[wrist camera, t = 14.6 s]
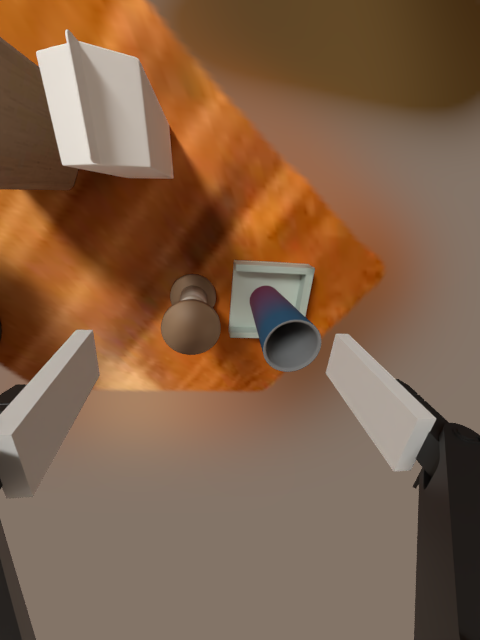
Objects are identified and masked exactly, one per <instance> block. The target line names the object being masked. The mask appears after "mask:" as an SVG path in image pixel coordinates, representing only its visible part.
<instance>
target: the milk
mask: <svg viewBox="0 0 480 640" xmlns="http://www.w3.org/2000/svg"><path fill="white" fill-rule="evenodd" d="M65 35H66V41H67V43H66V44H62V45H58V46H54V47H50V48H46V49H43V50H39V51H37V52H36V55H37V59H38V64H39V68H40V72H41V76H42V81H43V85H44V89H45V94H46V98H47V102H48V107H49V111H50V115H51V120H52V124H53V128H54V132H55V137H56V141H57V145H58V150H59V154H60V158H61V162H62V165H63V166H68V167H73V168H78V169H83V170H88V171H94V172H99V173H104V174H109V175H114V176H120V177H125V178H156V179H173V178H174V176H173V164H172V152H171V140H170V128H169V124H168V121H167V119H166V117H165V115H164V113H163V111H162V108H161V106H160V104H159V102H158V100H157V98H156V95H155V93H154V91H153V89H152V87H151V84H150V82H149V80H148V78H147V76H146V74H145V71H144V69H143V67H142V65H141V63H140V61H139V59H138V58H136V57H133V56H129V55H126V54H122V53H119V52H115V51H112V50H108V49H105V48H101V47H98V46H94V45H91V44H87V43H84V42H80V41H78V40H77V39H76V38H75V37H74V36H73V34H72V33H71V32H70V31H69V30H66V31H65Z"/></svg>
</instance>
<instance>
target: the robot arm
mask: <svg viewBox="0 0 480 640" xmlns="http://www.w3.org/2000/svg"><path fill="white" fill-rule="evenodd" d="M1 332H2V330H1V323H0V339H1ZM326 374H327V376H328V377H329V379H330V380H331V382H332V383H333V385H334V386H335V387H336V389H337V390H338V392H339V393H340V395H341V396H342V398H343V399H344V400H345V402H346V403H347V405H348V406H349V407H350V409H351V411H352V412H353V413H354V415H355V416H356V417H357V419H358V421H359V422H360V424H361V425H362V426H363V428H364V429H365V431H366V432H367V434H368V435H369V436H370V438H371V439H372V441H373V442H374V444H375V445H376V446H377V448H378V449H379V451H380V452H381V454H382V455H383V456H384V458H385V460H386V461H387V462H388V464H389V465H390V467H391V468H392V470H393V471H407V470H411V469H412V467H413V465H414V463H415V461H416V460H417V461H418V462H419V463H420V465H421V466H422V469H421V472H420V473H419V475H418V477H417V479H416V481H415V483H414V485H413V487H414V488H416V487H417V485H419V505H418V536H417V539H418V540H417V567H416V569H417V570H416V599H415V630H414V640H480V435H479V434H477V433H476V432H474V431H473V430H471V429H469V428H467V427H465V426H463V425H460V424H456V423H449V422H448V421H447V420H445V419H444V418H443V417H442V416H441V415H440V414H439V413H438V412H437V411H436V410H435V409H434V408H432V407H431V406H430V405H429V404H428V403H427V402H426V401H424V399H423V398H422V397H420V395H417V393H416V392H415V391H414V390H413V389H412V388H411V387H410V386H409V385H407V384H405V383H404V382H402V381H400V380H399V379H394V377H392V376H391V375H390V374H389V373H388V372H387V371H386V370H385V369H384V368H383V367H382V366H381V365H380V364H379V363H378V362H377V361H376V360H375V359H374V358H373V357H372V356H371V355H369V354H368V353H367V352H366V351H365V350H364V349H363V348H362V347H361V346H360V345H359V344H358V343H357V342H356V341H355V340H354V339H353V338H352V337H351V336H350V335H349V334H336V336H335V339H334V343H333V347H332V351H331V355H330V359H329V362H328V367H327V370H326ZM98 377H99V368H98V361H97V355H96V348H95V342H94V335H93V330H76V331H75V332H74V333H73V334H72V335H71V336H70V337H69V338H68V340H67V341H66V342H65V343H64V344H63V345H62V346H61V347H60V348H59V350H58V351H57V352H56V353H55V354H54V355H53V356H52V357H51V358H50V360H49V361H48V362H47V363H46V364H45V365H44V366H43V367H42V369H41V370H40V371H39V372H38V373H37V374H36V375H35V376H34V377H33V379H32V380H31V381H30V382H29V383H28V384H27V385H15V386H14V387H12V388H10V389H9V390H7V391H5V392H4V393H2V394H1V395H0V489H1V487H2V488H3V491H4V493H5V495H6V498H21V497H33V496H34V494H35V492H36V490H37V488H38V486H39V485H40V483H41V481H42V479H43V477H44V475H45V474H46V472H47V470H48V468H49V466H50V465H51V463H52V461H53V459H54V457H55V456H56V454H57V452H58V450H59V448H60V446H61V445H62V443H63V441H64V439H65V437H66V435H67V434H68V432H69V430H70V428H71V426H72V425H73V423H74V421H75V419H76V417H77V415H78V413H79V412H80V410H81V408H82V406H83V404H84V403H85V401H86V399H87V397H88V395H89V394H90V392H91V390H92V388H93V386H94V384H95V383H96V381H97V379H98ZM0 640H36V638H35V635H34V631H33V628H32V625H31V621H30V618H29V615H28V611H27V608H26V605H25V601H24V598H23V595H22V591H21V588H20V584H19V581H18V578H17V575H16V571H15V568H14V564H13V561H12V557H11V554H10V551H9V548H8V544H7V541H6V537H5V534H4V531H3V527H2V524H1V521H0Z"/></svg>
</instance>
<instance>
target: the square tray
mask: <svg viewBox="0 0 480 640" xmlns="http://www.w3.org/2000/svg"><path fill="white" fill-rule="evenodd" d="M314 271H315V268H313V267H312V266H310V265H309V264H298V263H280V262H263V261H245V260H234V265H233V278H232V291H231V304H230V317H229V334H230V338H259V336H258V332H257V329H256V325H255V321H254V318H253V314H252V310H251V307H250V296H251V294H252V292H253V291H254V290H255V289H257V288H258V287H261V286H271V287H273V288H275V289H276V290H277V291H278V292H279V293H280V294H281V295H282V296H283V297H285V298H286V299H287V300H288V301H289V302H290V303H291V304H292V305H293V306H294V307H295V308H296V309H297V310H298V311H299V312H300V313H301V314H303V315H304V316H306V311H307V306H308V301H309V296H310V291H311V286H312V281H313V276H314Z"/></svg>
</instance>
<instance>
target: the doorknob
mask: <svg viewBox="0 0 480 640" xmlns="http://www.w3.org/2000/svg"><path fill="white" fill-rule="evenodd" d="M170 300H171V303H172V306H171V307H170V308H169V309H168V310H167V311H166V313H165V314H164V317H163V320H162V324H161V333H162V336H163V339H164V340H165V342H166V343H167V345H168V346H169V347H171V348H172V349H173V350H175V351H177V352H179V353H182V354H188V355H195V354H200V353H203V352H205V351H207V350H209V349H210V348H212V347H213V346H214V345H215V343H216V342H217V340H218V338H219V336H220V331H221V326H220V320H219V316H218V314H217V313H216V311H215V310H214V309H213V307H214V305H215V302H216V293H215V289H214V286H213V285H212V283H211V282H210V281H209V280H208V279H207V278H205V277H203V276H201V275H198V274H187V275H184V276H182V277H180V278H179V279H178V280H177V281H176V282H175V283H174V285H173V286H172V289H171V293H170Z"/></svg>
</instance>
